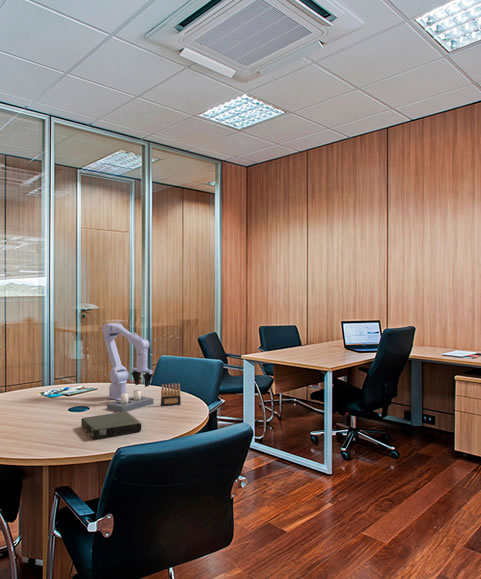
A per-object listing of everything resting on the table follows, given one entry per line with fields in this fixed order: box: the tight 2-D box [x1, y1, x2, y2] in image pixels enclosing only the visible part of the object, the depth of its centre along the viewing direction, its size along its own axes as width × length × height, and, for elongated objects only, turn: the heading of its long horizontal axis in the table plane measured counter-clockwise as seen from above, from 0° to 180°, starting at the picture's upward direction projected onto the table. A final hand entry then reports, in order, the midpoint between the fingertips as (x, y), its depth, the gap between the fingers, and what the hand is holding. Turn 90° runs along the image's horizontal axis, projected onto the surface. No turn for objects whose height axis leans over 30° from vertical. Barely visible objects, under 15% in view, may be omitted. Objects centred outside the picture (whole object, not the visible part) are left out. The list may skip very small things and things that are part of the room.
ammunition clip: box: [160, 382, 182, 407], centre depth 238 cm, size 11×2×12 cm, turn 109°
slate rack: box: [106, 392, 154, 413], centre depth 235 cm, size 12×22×8 cm, turn 147°
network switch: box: [80, 411, 142, 441], centre depth 194 cm, size 23×23×5 cm
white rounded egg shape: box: [133, 389, 142, 401], centre depth 239 cm, size 4×4×7 cm
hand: (141, 385), depth 244 cm, fingers open, 7 cm apart
